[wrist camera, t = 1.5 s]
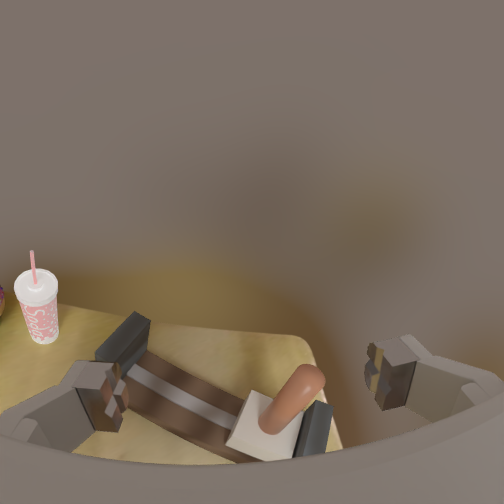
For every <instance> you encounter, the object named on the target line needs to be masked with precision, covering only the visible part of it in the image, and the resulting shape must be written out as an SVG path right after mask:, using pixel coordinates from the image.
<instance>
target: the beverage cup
mask: <svg viewBox="0 0 504 504" xmlns="http://www.w3.org/2000/svg"><path fill="white" fill-rule="evenodd" d="M30 258H31V267H32V269H31V270H28V271H25V272H23V273H22V274H21V275H19V276H18V278H17V279H16V281H15V284H14V291H15V294H16V296H17V299H18V300H19V302H20V305H21V308H22V312H23V315H24V318H25V321H26V324H27V327H28V329H29V332H30V335H31V337H32V339H33V340H34V341H36V342H37V343H40V344H49V343H51V342H53V341H54V340H55V339H56V338H57V337H58V334H59V329H58V315H57V298H56V295H57V293H58V280H57V279H56V277H55V276H54V274H52V273H51V272H49V271H47V270H44V269H35V261H34V252H33V250H30Z"/></svg>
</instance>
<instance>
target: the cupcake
mask: <svg viewBox="0 0 504 504" xmlns="http://www.w3.org/2000/svg"><path fill="white" fill-rule="evenodd" d="M4 308H5V299H4V290H3V289H2V287H0V317H1V315H2V313H3V310H4Z"/></svg>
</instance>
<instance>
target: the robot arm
mask: <svg viewBox="0 0 504 504" xmlns="http://www.w3.org/2000/svg"><path fill="white" fill-rule="evenodd" d="M367 355H368V356H369V358H370V360H369V361H368V362H367V363H366V365H365V372H364V374H365V382H366V385H367V387H368V389H369V390H370V391H371V392H374V393H376V394H375V400H376V402H377V404H378V405H379V407H380V409H381V410H382V411H385V410H390V409H393V408H398V407H402V406H405V407H406V408H408V409H410V410H411V411H413V412H415V413H416V414H418V415H420V416H422V417H424V418H425V419H427V420H429V421H430V422H432V424H429V425H426V426H423V427H421V428H418V429H415V430H412V431H409V432H406V433H403V434H399V435H396V436H393V437H389V438H387V439H382V440H379V441H375V442H372V443H368V444H363V445H359V446H355V447H351V448H346V449H342V450H337V451H332V452H327V453H321V454H316V455H310V456H303V457H297V458H290V459H282V460H274V461H264V462H253V463H239V464H218V465H175V464H154V463H141V462H130V461H121V460H113V459H105V458H99V457H92V456H86V455H81V454H75V453H71V452H72V451H73V450H74V449H76V448H77V447H78V446H79V445H80V444H82V443H83V442H84V441H85V440H86V439H87V438H89V437H90V436H91V435H92V434H93V433H94V432H95V431H104V432H117V433H118V431H119V429H120V426H121V423H122V420H123V418H122V415H121V413H123V412H124V411H126V409H127V406H128V400H129V395H128V389H127V386H126V383H125V382H124V381H122V380H121V379H120V377H121V375H122V370H121V368H120V365H119V364H118V363H117V362H106V361H89V360H77V361H75V363H74V364H73V365H72V367H71V368H70V370H69V371H68V372H67V374H66V375H65V377H64V378H63V380H62V381H61V382H60V384H59V385H58V386H53V387H51V388H49V389H47V390H45V391H43V392H41V393H39V394H37V395H35V396H33V397H31V398H29V399H27V400H25V401H23V402H21V403H19V404H17V405H15V406H13V407H11V408H9V409H7V410H5V411H4V412H3V413H2V414H1V416H0V504H504V382H503V381H502V380H500V379H499V378H498V377H497V376H496V375H495V374H494V373H493V372H489V371H486V370H483V369H479V368H476V367H472V366H469V365H466V364H462V363H459V362H456V361H453V360H449V359H446V358H443V357H439V356H434V357H433V356H432V355H431V354H430V353H429V352H428V351H427V350H426V349H425V348H424V347H423V346H422V345H421V344H420V343H419V342H418V341H417V340H416V339H415V338H414V337H413V336H412V335H409V334H407V335H404V336H399V337H396V338H391V339H387V340H383V341H377V342H373V343H370V344H369V346H368V350H367Z"/></svg>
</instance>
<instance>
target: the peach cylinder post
mask: <svg viewBox="0 0 504 504" xmlns="http://www.w3.org/2000/svg"><path fill="white" fill-rule="evenodd" d="M324 385H325V377H324V375H323V373H322V372H321V371H320V370H319V369H318V368H317V367H315V366H313V365H310V364H302V365H300V366H299V367H298V368H297V369H296V370H295V372H294V373H293V374H292V376H291V377H290V378H289V380H288V381H287V382H286V384H285V385H284V386H283V388H282V389H281V390H280V392H279V393H278V394H277V396H276V397H275V398H274V399H272V398H270V397H268V396H265V395H263V394H261V393H258V392H256V391H254V390H251V392H250V393H249V395H248V396H247V398H246V399H245V401H244V403H243V405H242V408H241V410H240V412H239V414H238V417H237V419H236V421H235V424H234V426H233V428H232V430H231V433H230V435H229V437H228V439H227V442H226V444H225V445H226V446H228V447H231V448H233V449H235V450H238V451H240V452H243V453H245V454H248V455H250V456H253V457H255V458H258V459H260V460H263V461H274V460H282V459H290V458H292V455H293V452H294V448H295V444H296V441H297V437H298V433H299V430H300V426H301V422H302V418H303V414H304V411H302V409H303V408H304V407H305V406H306V405H307V404H308V403H309V402H310V401H311V400H312V399H313V398H314V397H315V395H316V394H317V393H318V392H319V391H320V390H321V389H322V388H323V386H324Z"/></svg>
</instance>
